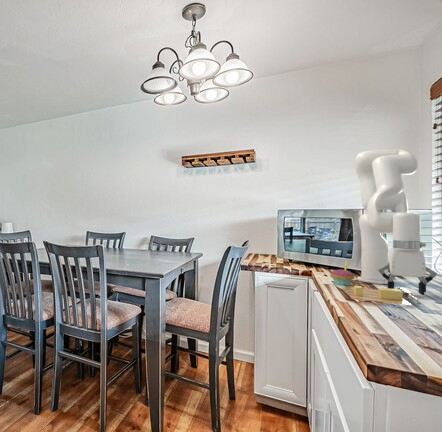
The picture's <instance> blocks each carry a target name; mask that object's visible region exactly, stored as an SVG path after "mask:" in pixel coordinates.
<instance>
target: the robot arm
mask: <svg viewBox="0 0 442 432" xmlns="http://www.w3.org/2000/svg"><path fill="white" fill-rule="evenodd" d="M418 164H419V162H418V160H417V157H416V156H415V155H414V154H413V153H412V152H409V151H407V150H405V149H403V148H391V149H389V148H388V149H387V148H386V149H372V150H365V151H362V152H359V153H358V154H356V156H355V159H354V169H355V172H356V175H357V177H358V180H359V183H360V197H361V205H362V208H363V209H365V210H366V213H363V214H361V215H360V216H359V218H358V227H359V232H360V240H361V241H360V244H361V245H360V247H361V252H360V253H361V256H360V257H361V261H360V262H361V271H360V272H361V273H360V274H361V275H360V276H357V277H356V280H357V281H359V282H362V283H368V284H373V285H374V284H375V285H387V288H390V289H395V282H394V279H396V277H407V278H409V277H410V278H417V279H418V280H419V282H418V294H419V295H421V296H425V293H427V285H428V284H429V283H430V282H431V281H433V280H434V279H435V277H437V275H438V272H436V271H434V270H433V269H431V268H430V267H427V265H426V258H425V254H424V253H425V252H424V250H423V249H422V248H423V247H424V248H425V247H426V246H427V243H426V242H422V241H421V214H419V212H414V211H409V204H408V197H407V194H406V193H405V191H404V188H405V185H404V181H403V177H402V176H407V175H413V174H415V173H416V172H417V170H418V166H419V165H418ZM384 234H385V235H386V234H387V235H389V234H390V235H391V234H392V248H389V243H388V241H387V239H385V238H384V236H383V235H384ZM427 273H428V274H429V275H427Z"/></svg>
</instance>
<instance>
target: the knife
mask: <svg viewBox="0 0 442 432" xmlns="http://www.w3.org/2000/svg"><path fill="white" fill-rule="evenodd" d="M396 289H400V290H401V291H402V292H403V297H405V298H408V299H410V300H411V301H412V302H413V303H415V304H417V305H419V299H418V298H417V297H415V296H413V294H412V292H411V291H409V290H408V289H407V288H405V287H404V286H397V287H396Z"/></svg>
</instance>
